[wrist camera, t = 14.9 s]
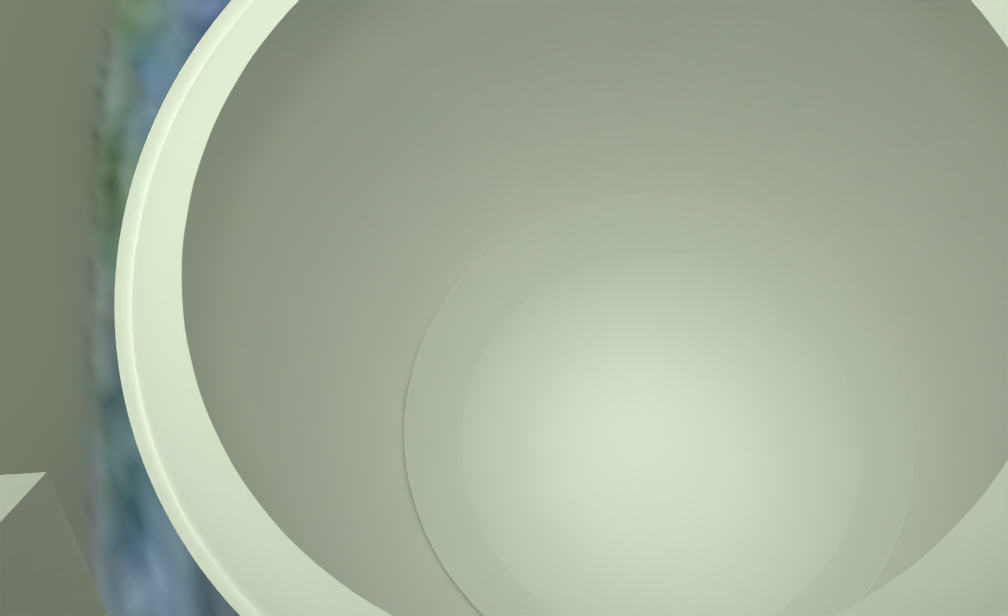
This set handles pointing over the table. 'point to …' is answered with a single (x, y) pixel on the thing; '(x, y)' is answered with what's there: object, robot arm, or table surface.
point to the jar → (579, 307)
